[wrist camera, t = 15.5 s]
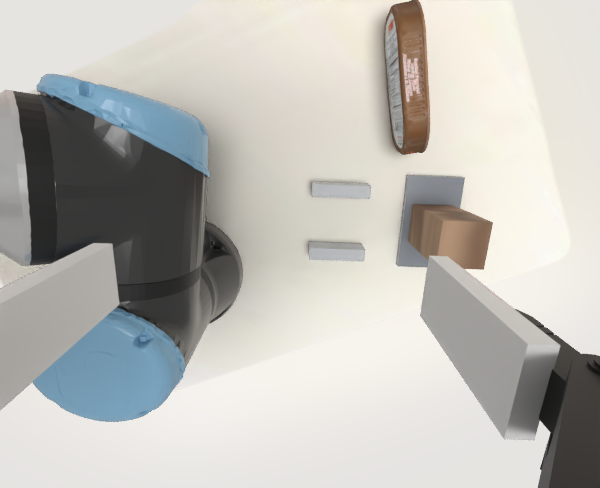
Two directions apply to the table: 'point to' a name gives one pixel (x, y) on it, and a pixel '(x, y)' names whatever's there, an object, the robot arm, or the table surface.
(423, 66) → the tin
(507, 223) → the table surface
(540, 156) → the table surface
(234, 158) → the table surface
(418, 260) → the slate plate
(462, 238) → the walnut block
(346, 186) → the cradle
